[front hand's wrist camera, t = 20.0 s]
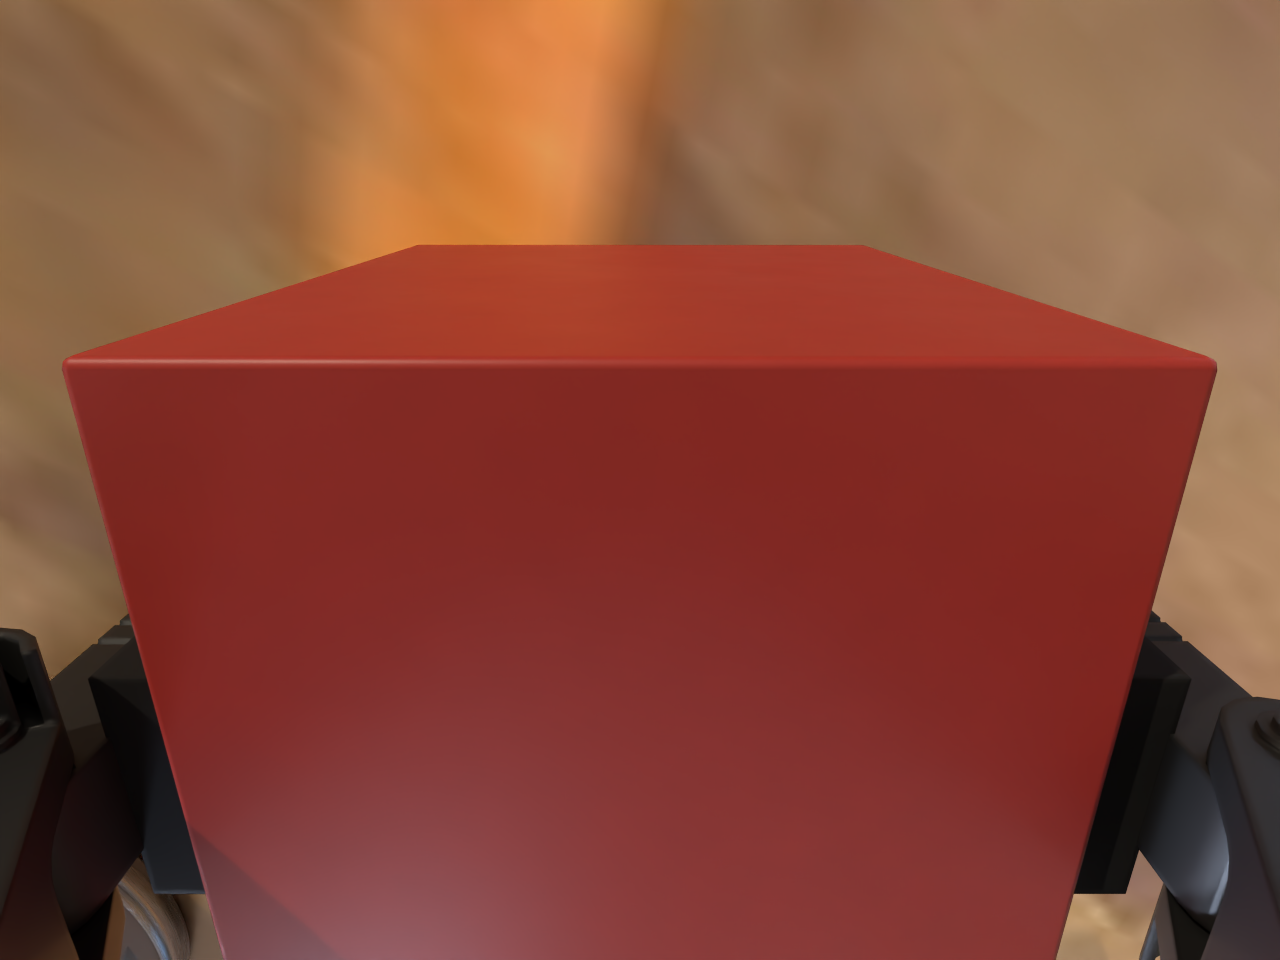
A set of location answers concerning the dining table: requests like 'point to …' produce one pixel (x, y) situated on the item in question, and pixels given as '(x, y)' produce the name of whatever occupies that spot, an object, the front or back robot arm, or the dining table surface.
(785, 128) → the dining table surface
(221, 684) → the block
